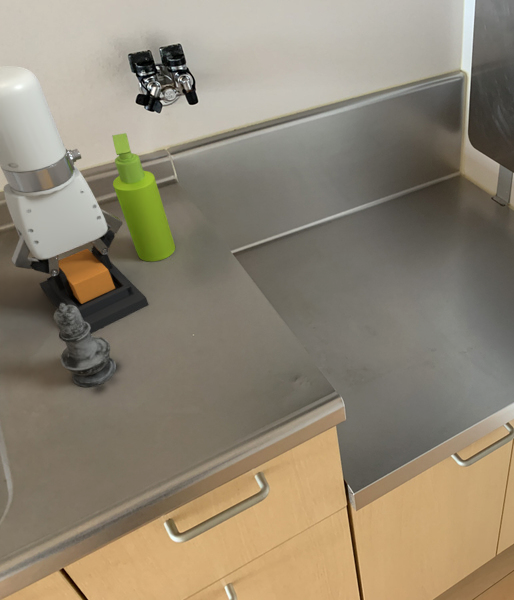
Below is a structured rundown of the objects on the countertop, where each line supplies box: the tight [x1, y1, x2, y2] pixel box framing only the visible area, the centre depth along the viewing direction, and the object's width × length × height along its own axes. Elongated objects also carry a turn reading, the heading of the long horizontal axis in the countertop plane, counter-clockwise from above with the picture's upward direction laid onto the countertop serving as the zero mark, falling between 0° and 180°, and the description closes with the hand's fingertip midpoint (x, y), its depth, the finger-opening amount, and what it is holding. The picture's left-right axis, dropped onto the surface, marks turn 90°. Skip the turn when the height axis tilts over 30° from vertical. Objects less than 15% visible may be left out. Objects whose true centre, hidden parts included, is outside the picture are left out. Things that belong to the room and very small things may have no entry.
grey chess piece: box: [53, 303, 117, 388], centre depth 76 cm, size 6×6×12 cm
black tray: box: [39, 260, 149, 334], centre depth 90 cm, size 10×14×3 cm
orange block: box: [58, 248, 115, 304], centre depth 88 cm, size 5×7×4 cm
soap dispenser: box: [111, 132, 176, 263], centre depth 93 cm, size 6×7×20 cm
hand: (86, 281), depth 89 cm, fingers closed on orange block, 5 cm apart
